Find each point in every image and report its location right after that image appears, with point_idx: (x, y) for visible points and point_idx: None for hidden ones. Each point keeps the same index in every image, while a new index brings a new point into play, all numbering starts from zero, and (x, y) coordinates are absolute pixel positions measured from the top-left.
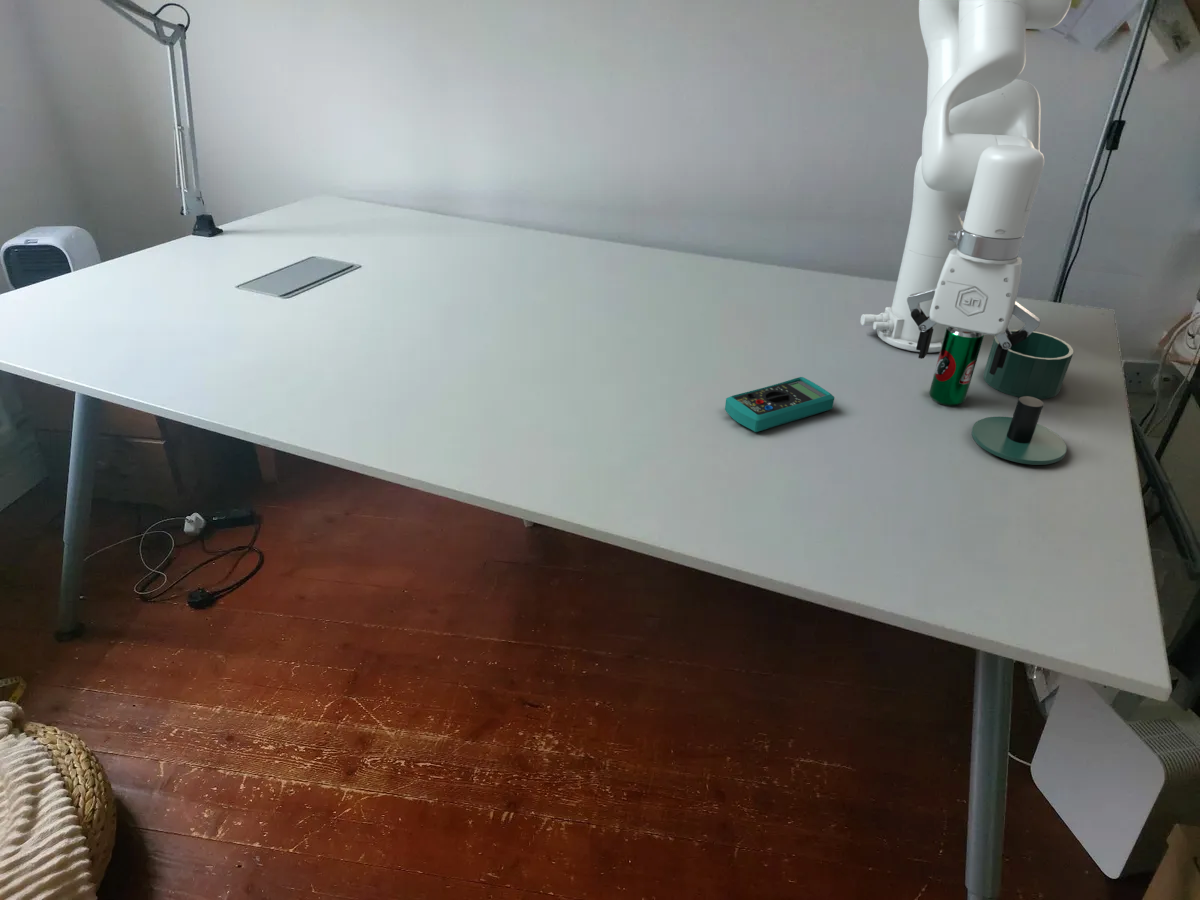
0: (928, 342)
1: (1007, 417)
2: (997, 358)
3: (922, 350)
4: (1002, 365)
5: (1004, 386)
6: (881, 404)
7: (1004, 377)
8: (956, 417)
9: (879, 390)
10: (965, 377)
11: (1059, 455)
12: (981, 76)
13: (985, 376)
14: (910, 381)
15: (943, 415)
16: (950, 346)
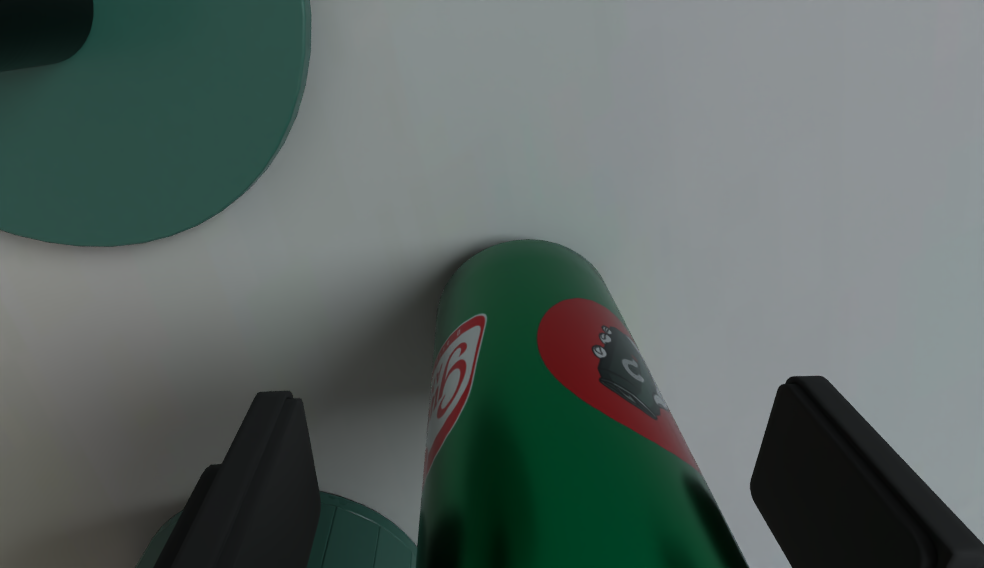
0: (833, 512)
1: (182, 219)
2: (220, 495)
3: (844, 415)
4: (204, 476)
5: None
6: (834, 68)
7: (318, 551)
8: (436, 149)
9: (842, 228)
10: (458, 354)
11: None
12: None
13: (414, 558)
14: (699, 391)
15: (501, 133)
16: (668, 486)
